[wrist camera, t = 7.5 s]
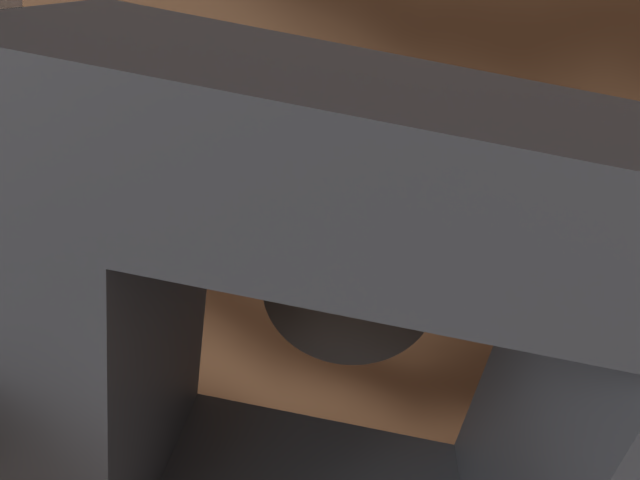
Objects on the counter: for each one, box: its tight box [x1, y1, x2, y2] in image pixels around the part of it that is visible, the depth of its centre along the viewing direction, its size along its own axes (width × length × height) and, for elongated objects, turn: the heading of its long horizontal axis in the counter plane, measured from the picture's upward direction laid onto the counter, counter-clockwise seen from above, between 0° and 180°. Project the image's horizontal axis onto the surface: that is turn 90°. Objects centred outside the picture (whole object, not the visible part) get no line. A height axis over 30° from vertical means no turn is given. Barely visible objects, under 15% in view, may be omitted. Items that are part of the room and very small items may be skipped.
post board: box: [22, 0, 640, 445], centre depth 17 cm, size 24×24×9 cm
